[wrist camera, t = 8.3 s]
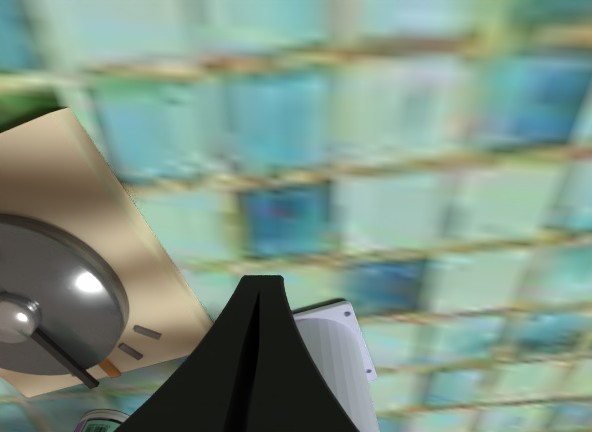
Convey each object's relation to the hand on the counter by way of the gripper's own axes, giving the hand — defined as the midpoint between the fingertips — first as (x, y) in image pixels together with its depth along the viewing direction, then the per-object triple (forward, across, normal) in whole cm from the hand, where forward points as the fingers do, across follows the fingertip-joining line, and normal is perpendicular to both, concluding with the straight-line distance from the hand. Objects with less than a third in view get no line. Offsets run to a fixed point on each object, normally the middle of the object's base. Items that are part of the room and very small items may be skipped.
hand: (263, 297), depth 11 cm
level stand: (+9, +16, +7) cm, 19 cm away
